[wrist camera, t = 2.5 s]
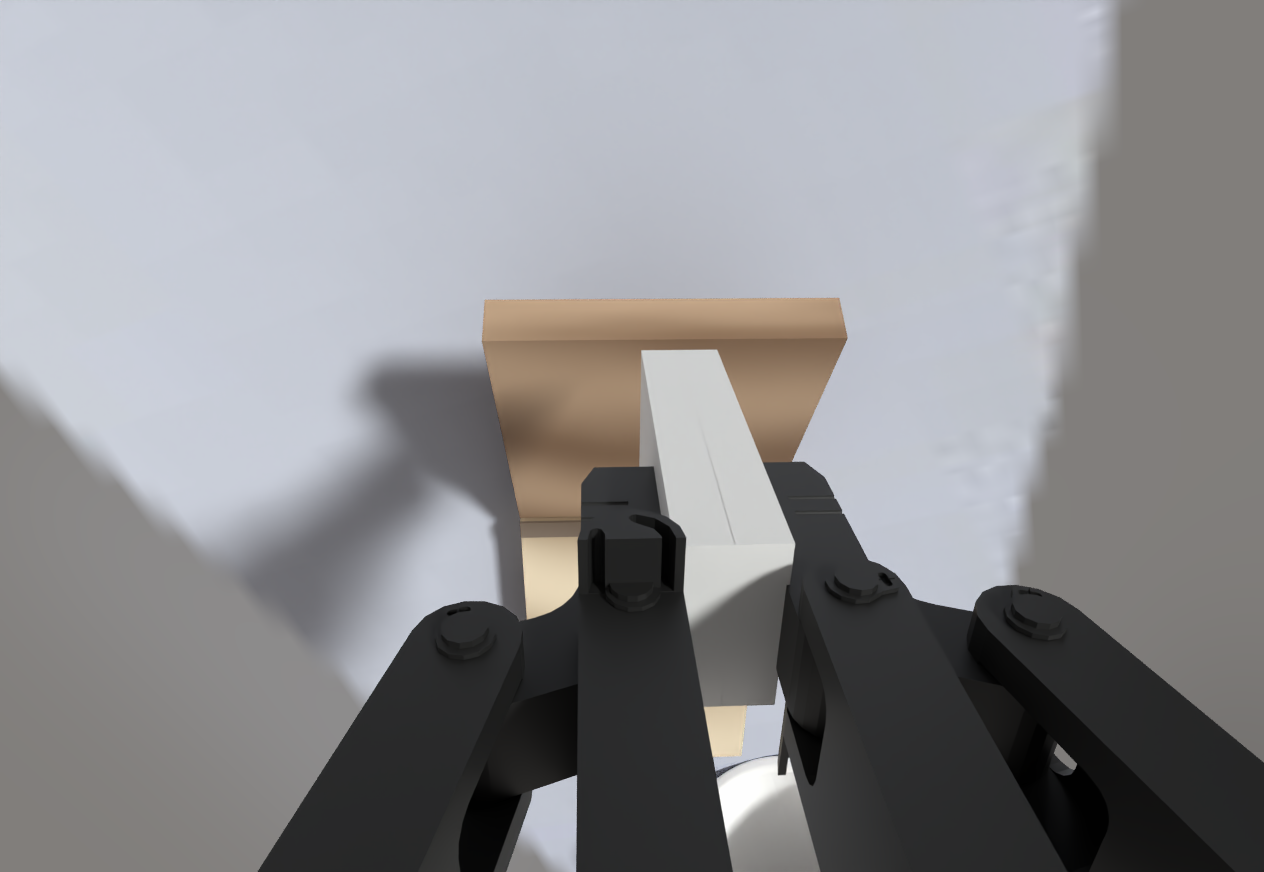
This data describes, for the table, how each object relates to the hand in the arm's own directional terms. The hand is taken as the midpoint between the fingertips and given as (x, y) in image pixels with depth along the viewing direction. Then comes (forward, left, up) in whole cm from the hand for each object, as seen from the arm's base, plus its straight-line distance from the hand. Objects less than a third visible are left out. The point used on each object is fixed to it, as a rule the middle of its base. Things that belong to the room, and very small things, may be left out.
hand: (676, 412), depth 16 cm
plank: (+3, 0, -6) cm, 7 cm away
